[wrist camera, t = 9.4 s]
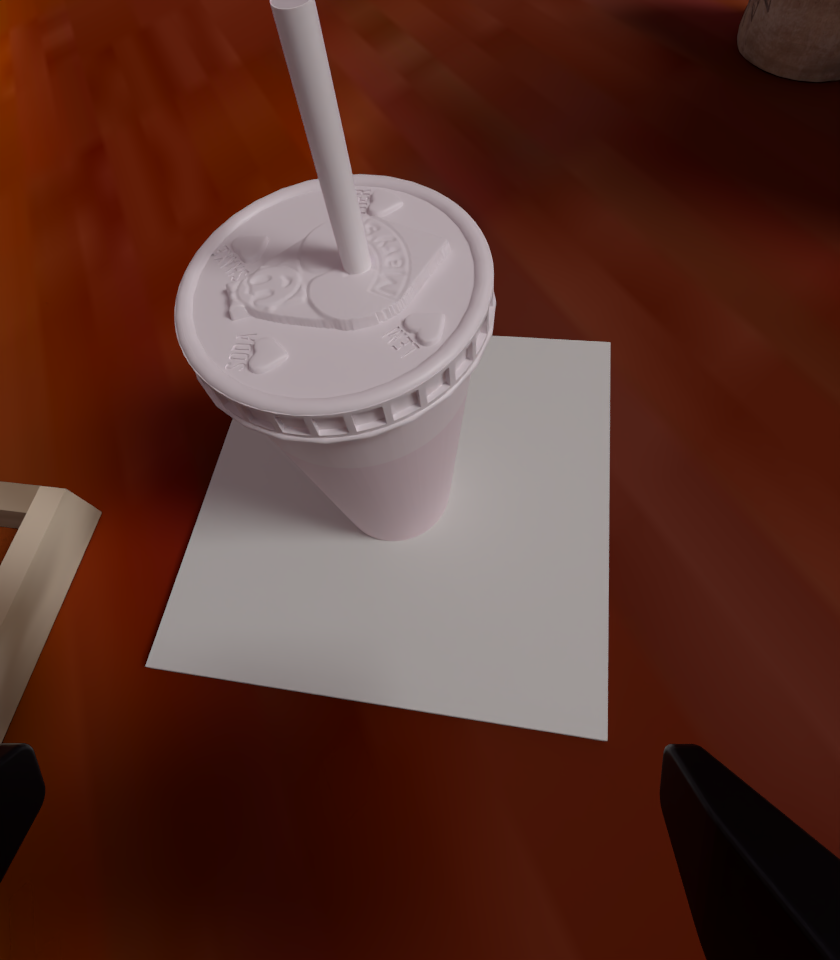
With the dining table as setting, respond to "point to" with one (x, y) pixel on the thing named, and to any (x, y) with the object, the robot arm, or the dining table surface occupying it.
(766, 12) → the figurine
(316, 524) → the mat
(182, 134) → the dining table surface
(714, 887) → the robot arm
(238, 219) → the smoothie
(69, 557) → the holder
